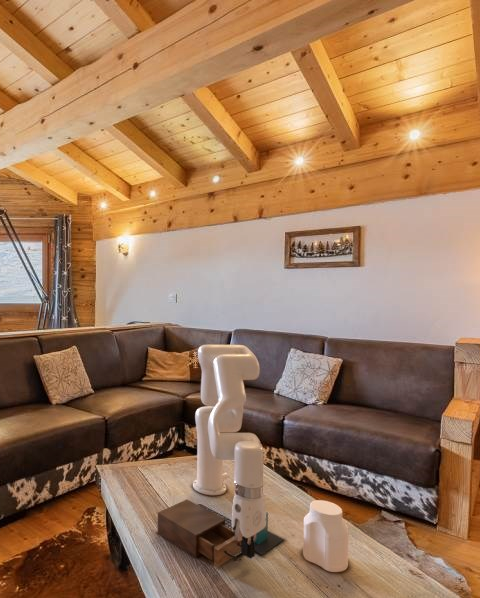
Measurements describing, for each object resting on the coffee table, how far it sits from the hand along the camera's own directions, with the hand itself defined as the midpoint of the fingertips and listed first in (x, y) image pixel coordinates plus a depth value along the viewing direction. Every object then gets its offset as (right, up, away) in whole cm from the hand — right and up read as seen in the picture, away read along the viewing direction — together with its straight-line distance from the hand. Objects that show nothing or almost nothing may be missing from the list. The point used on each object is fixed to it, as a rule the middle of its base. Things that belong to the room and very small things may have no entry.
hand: (247, 554), depth 116 cm
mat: (+7, -4, +15) cm, 17 cm away
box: (+7, -4, +15) cm, 17 cm away
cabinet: (-13, -4, +16) cm, 21 cm away
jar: (+24, -5, +5) cm, 25 cm away
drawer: (-6, -3, +8) cm, 11 cm away
